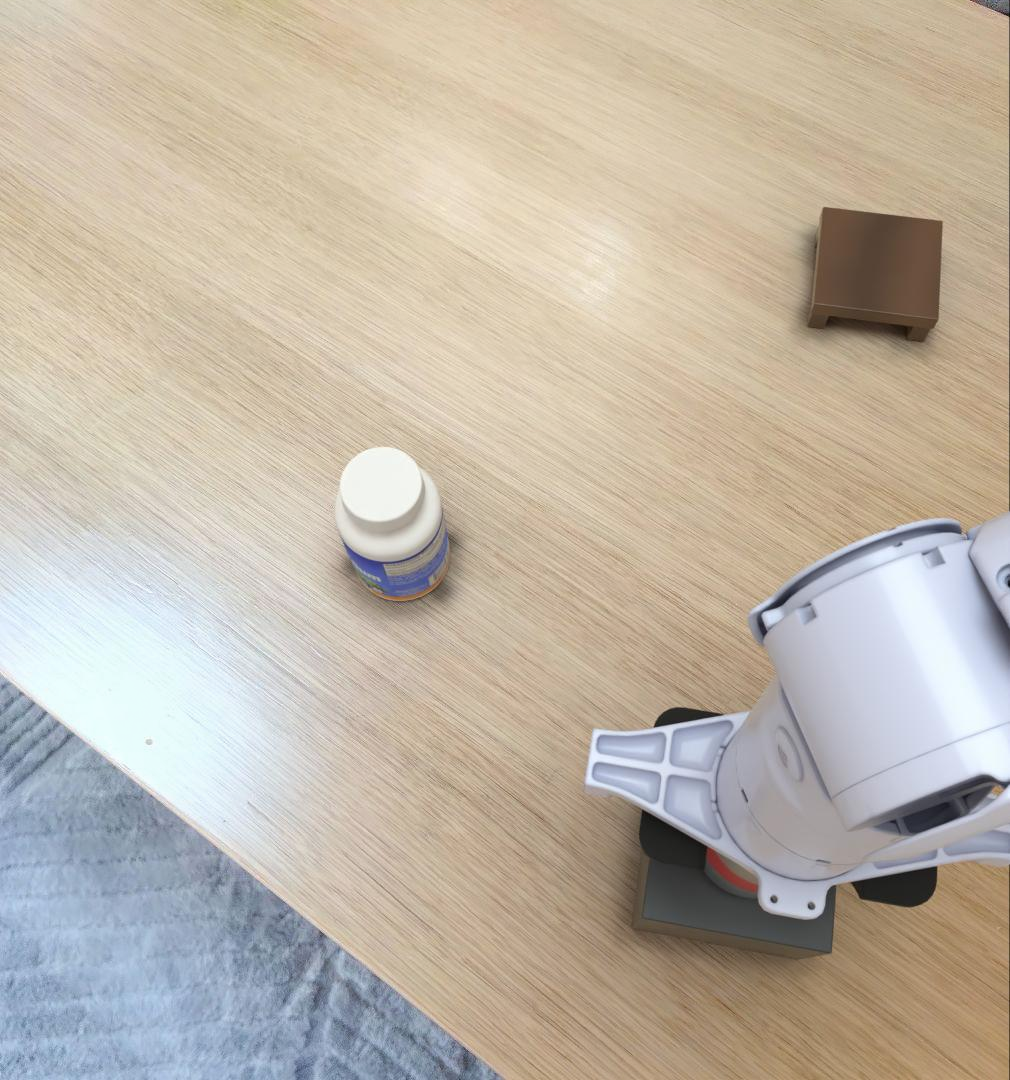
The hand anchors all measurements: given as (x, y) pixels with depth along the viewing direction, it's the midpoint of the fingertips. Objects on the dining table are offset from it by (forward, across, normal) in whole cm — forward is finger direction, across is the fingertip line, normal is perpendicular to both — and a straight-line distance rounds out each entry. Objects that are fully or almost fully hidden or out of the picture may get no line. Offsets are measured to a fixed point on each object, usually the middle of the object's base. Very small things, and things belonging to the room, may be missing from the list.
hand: (756, 831), depth 46 cm
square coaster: (+10, 0, 0) cm, 10 cm away
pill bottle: (+10, -19, +13) cm, 25 cm away
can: (+2, 0, 0) cm, 2 cm away
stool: (+10, +5, +35) cm, 36 cm away
